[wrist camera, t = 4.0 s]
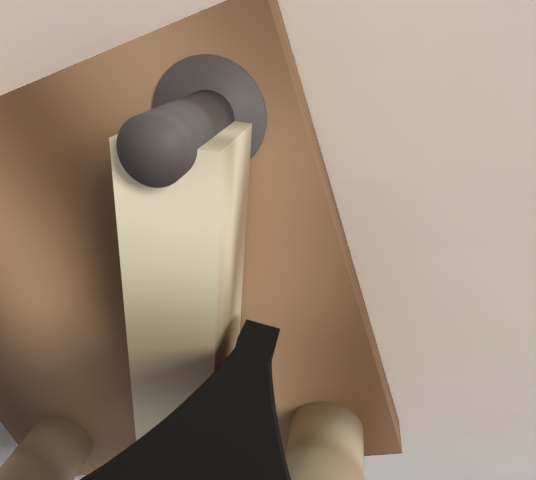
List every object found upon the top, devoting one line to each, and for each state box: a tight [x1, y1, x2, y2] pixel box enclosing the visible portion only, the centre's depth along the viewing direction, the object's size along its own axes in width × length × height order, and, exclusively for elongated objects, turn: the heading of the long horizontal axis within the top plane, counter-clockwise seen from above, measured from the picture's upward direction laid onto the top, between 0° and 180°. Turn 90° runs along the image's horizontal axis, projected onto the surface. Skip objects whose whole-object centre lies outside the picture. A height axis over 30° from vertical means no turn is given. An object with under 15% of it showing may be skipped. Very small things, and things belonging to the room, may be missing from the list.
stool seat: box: [0, 0, 402, 480], centre depth 12 cm, size 14×13×4 cm
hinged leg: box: [109, 90, 252, 441], centre depth 10 cm, size 9×2×3 cm, turn 175°
